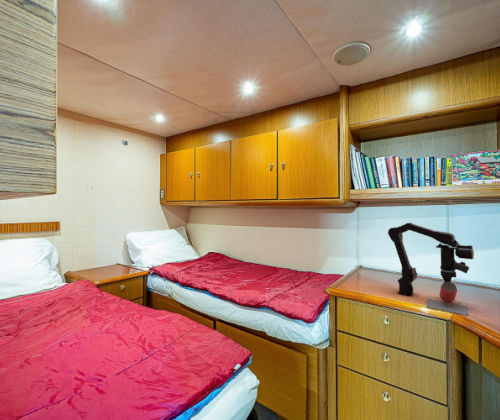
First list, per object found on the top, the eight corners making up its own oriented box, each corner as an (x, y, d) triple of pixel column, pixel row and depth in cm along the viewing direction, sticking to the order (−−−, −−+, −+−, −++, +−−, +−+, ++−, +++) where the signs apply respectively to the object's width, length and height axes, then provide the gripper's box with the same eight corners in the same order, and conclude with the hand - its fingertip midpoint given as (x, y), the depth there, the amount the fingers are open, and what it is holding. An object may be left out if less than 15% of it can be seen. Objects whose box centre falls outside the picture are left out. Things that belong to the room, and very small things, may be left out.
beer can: (455, 293, 134) (458, 282, 127) (454, 304, 131) (457, 294, 124) (440, 289, 138) (441, 279, 131) (438, 300, 135) (440, 290, 128)
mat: (426, 307, 128) (426, 306, 128) (428, 299, 139) (428, 298, 139) (468, 316, 118) (468, 315, 118) (466, 306, 129) (466, 305, 129)
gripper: (469, 261, 121) (470, 294, 121) (466, 255, 136) (466, 284, 136) (440, 259, 128) (440, 290, 127) (440, 253, 142) (440, 281, 142)
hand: (448, 286), depth 133 cm, fingers closed
